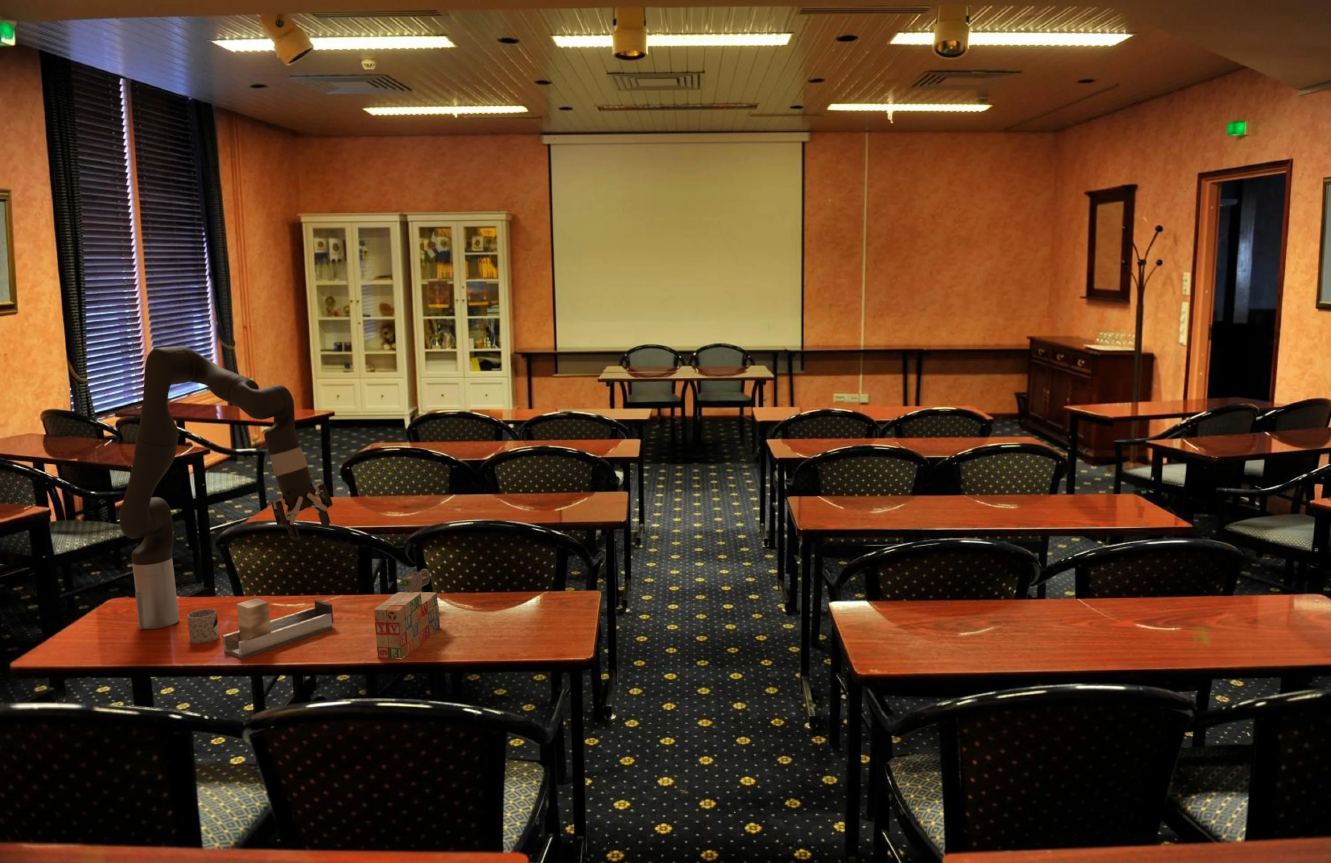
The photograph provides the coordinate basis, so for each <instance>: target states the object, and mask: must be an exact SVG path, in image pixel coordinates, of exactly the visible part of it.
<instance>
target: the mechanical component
mask: <svg viewBox="0 0 1331 863" xmlns="http://www.w3.org/2000/svg"><path fill="white" fill-rule="evenodd" d="M429 570H430V569H428V568H422V569H421V570H419V571H413V572H411V573H409V574H407V575H405V576H403V577H402V578H401V583H402V589H403V591H407V592H411V593H414V592H423V591H422V588H424V586H427V585H428V584H429V583H430V579H431V578H430V571H429Z"/></svg>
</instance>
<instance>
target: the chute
mask: <svg viewBox="0 0 1331 863" xmlns="http://www.w3.org/2000/svg"><path fill="white" fill-rule="evenodd" d="M313 602H314V607H310V608H308V609H307V608H306V609H304V610H303V609H302V610H300V611H298V612H294V613H291V614H290V613H289V614H287V615H284V616H282V617H278V618H275V619H270V625H271V632H268V633H265V634H262V635H259V636H256V637H253V638H250V639H246V640H243V641H240V632H239V630H236V631H233V632H230V633H227V634H223V635H222V643H223V644H222V645H223V652H225V653H227V654H229V655H232V656H234V657H236V658H238V659H240V660H244V659H246V658H251V657H252V656H253V657H254V656H256V655H259V654H262V653H265V652H267V651H271V650H274V649H277V648H279V647H282V646H286V645H289V644H292V643H294V642H298V641H300V640H303V639H307V638H310V637H313V636H316V635H318V634H321V633H323V632H327V631H330V630H333V624H334V615H333V604H332V603H329V602H326V601H323V600H320V599H316V600H314V601H313Z"/></svg>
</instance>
